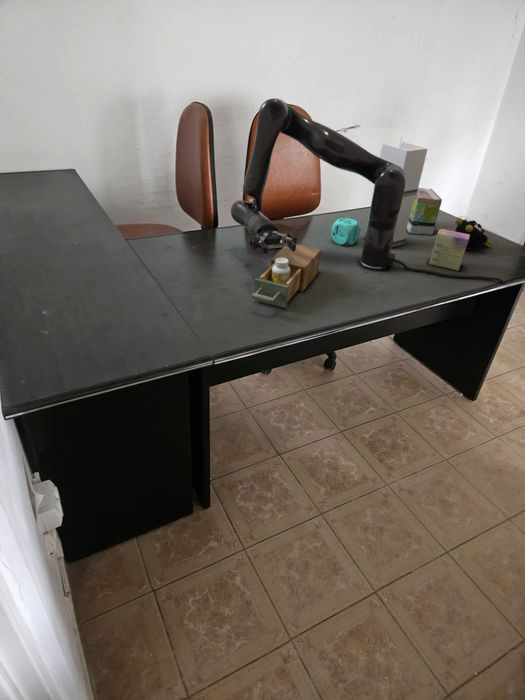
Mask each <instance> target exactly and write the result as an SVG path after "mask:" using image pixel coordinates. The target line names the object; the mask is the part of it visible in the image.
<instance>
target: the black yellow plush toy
mask: <svg viewBox="0 0 525 700" xmlns="http://www.w3.org/2000/svg"><path fill="white" fill-rule="evenodd" d="M455 224H456V225H457V226H456V227H455V230H454V231H455V232H460V233H465V234H470V237H469V240H468V243H467V246H466V250H475V249H479V248H481V247H483V246H484V245H486V246H487V247H489V248H491V247H492V246H493V243H492V242H491V241H489V237H488V236H487V235H486V231H485V229H484V228H483V226H482V225H481V224H480V223H477V221H476V220H473V219H472V220H469V221H468V220H466V219H463V218H461V217H458V218H457V219H456V220H455Z"/></svg>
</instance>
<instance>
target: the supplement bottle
mask: <svg viewBox="0 0 525 700" xmlns="http://www.w3.org/2000/svg"><path fill="white" fill-rule="evenodd" d="M288 263H289V261H288V259H286V258H276V259H275V265H274V266H273V268H272V282H276V283H280V284H284V285H286V283H287V282H288V281H289V278H290V268H289V266H288Z"/></svg>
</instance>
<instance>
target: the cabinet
mask: <svg viewBox="0 0 525 700" xmlns="http://www.w3.org/2000/svg"><path fill="white" fill-rule="evenodd" d="M321 252H322V249H320V248H316V247H311V246H307V245H302V244H297V243H296V250H295V251H291V250H290V248H289V247H287V246H284V247H281V249H280V250H279V251H278V252H277V253H276V254H275V255H273V257H271V258H270V261H269V262H270V263H269V265H270V266H269V268H270V267H271V266H272V265H273V264H274V263H275V259H276V258H286V259H288V261H289V263H288V266H293V267H297V268H301V269H302V278H301V286H300V288H299V289H298V290H297V291H296V292H301V293H303V292H304V291H305V289H307V287H308V286H309V285H310V284H311V282H312V281H313V280H314V278H315V277H316V276H317V275H318V274H319V268H320V267H319V266H320V260H321Z"/></svg>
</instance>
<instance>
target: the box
mask: <svg viewBox="0 0 525 700" xmlns="http://www.w3.org/2000/svg"><path fill="white" fill-rule="evenodd" d="M435 237H436V238H435V241H434V245H433V248H432V252H431V255H430V259H429V262H428V265H432V266H437V267H440V268H444V269H450V270H454V271H457V272H459V271H460V268H461V265H462V262H463V258H464V256H465V252H466V250H467V249H466V246H467V243H468V240H469V237H470V234H465V233H460V232H455V230H449V229H445V228H439V229H438V232H437V235H436V236H435Z"/></svg>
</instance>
